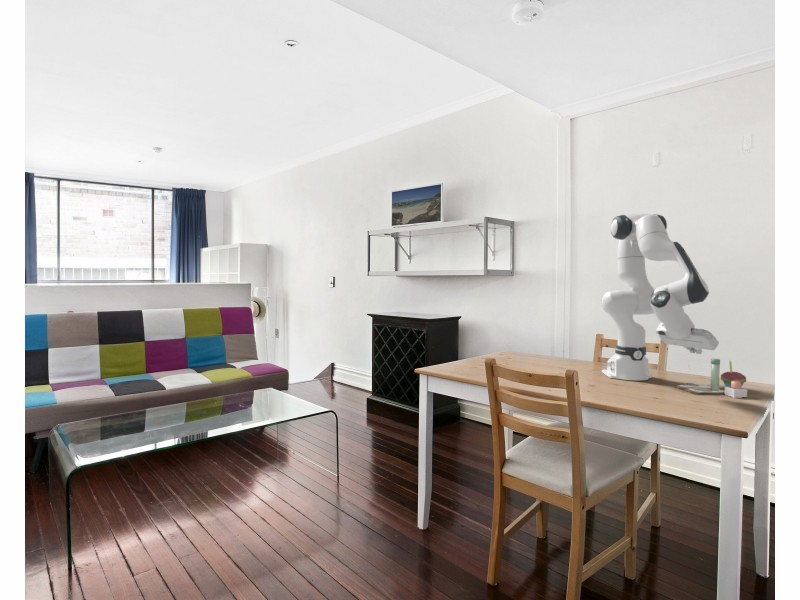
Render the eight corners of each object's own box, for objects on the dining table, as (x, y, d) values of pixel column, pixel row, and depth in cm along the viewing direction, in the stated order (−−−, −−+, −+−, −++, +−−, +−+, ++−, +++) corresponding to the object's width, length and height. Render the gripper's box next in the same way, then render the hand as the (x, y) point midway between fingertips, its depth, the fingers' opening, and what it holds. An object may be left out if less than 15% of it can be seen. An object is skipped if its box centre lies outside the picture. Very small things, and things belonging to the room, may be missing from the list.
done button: (729, 391, 185) (729, 380, 184) (736, 391, 185) (737, 380, 185) (734, 393, 182) (735, 382, 181) (742, 393, 182) (742, 382, 182)
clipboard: (671, 385, 201) (671, 382, 201) (704, 385, 201) (705, 382, 201) (695, 394, 186) (695, 391, 186) (731, 394, 186) (731, 391, 186)
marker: (708, 389, 191) (709, 358, 190) (715, 389, 191) (716, 358, 191) (713, 390, 188) (714, 360, 187) (721, 390, 188) (722, 360, 188)
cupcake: (735, 392, 189) (736, 361, 188) (714, 387, 197) (715, 358, 196) (751, 390, 192) (752, 360, 191) (730, 386, 200) (731, 357, 199)
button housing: (724, 394, 186) (724, 386, 186) (737, 394, 186) (737, 386, 186) (733, 397, 181) (734, 389, 181) (747, 397, 181) (747, 389, 181)
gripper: (712, 323, 171) (728, 349, 175) (659, 319, 190) (676, 342, 194) (703, 337, 169) (720, 362, 174) (651, 331, 188) (668, 354, 192)
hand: (696, 352), depth 184 cm, fingers closed
